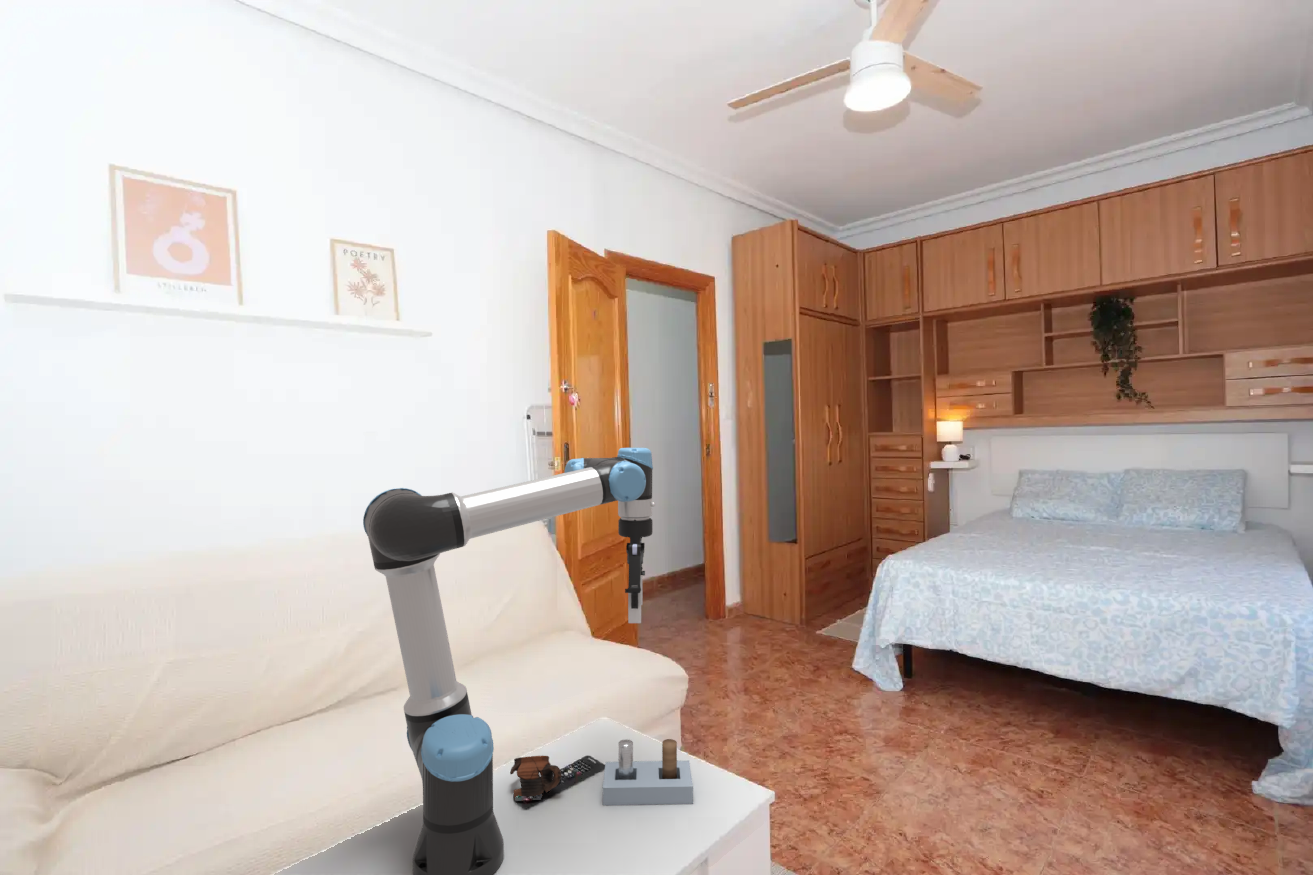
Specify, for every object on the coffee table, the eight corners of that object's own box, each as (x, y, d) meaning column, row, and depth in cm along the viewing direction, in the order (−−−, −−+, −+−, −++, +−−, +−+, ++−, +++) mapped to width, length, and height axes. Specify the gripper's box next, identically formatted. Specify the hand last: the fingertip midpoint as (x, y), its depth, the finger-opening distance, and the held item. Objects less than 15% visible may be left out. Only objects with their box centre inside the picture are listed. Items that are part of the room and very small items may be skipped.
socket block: (602, 805, 130) (602, 787, 130) (605, 777, 140) (605, 761, 140) (692, 803, 130) (692, 786, 130) (689, 776, 140) (689, 760, 140)
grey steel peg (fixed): (618, 794, 133) (618, 746, 133) (619, 786, 136) (618, 739, 136) (633, 794, 133) (632, 746, 133) (633, 786, 136) (633, 739, 136)
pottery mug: (499, 804, 131) (501, 758, 135) (525, 802, 139) (526, 759, 143) (551, 799, 128) (551, 752, 132) (574, 797, 135) (574, 753, 139)
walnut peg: (677, 793, 134) (677, 745, 133) (662, 794, 133) (662, 746, 133) (676, 785, 137) (676, 738, 136) (662, 786, 136) (661, 739, 136)
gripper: (652, 526, 131) (652, 631, 132) (652, 509, 156) (652, 597, 156) (614, 526, 131) (615, 631, 132) (621, 509, 156) (621, 597, 156)
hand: (635, 613), depth 144 cm, fingers open, 13 cm apart
